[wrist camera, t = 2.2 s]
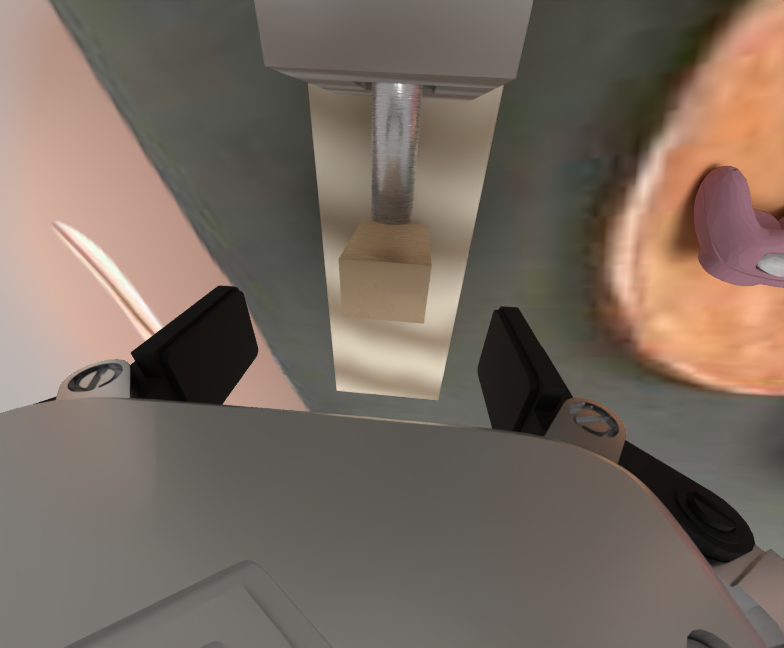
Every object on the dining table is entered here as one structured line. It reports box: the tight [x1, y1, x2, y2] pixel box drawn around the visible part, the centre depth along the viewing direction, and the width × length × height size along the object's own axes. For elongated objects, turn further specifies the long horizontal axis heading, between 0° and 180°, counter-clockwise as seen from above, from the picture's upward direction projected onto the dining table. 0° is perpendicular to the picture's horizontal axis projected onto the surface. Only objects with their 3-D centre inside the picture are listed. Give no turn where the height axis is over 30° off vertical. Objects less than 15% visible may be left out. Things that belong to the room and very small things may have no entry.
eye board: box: [254, 0, 533, 400], centre depth 16 cm, size 32×10×10 cm, turn 177°
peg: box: [338, 82, 432, 324], centre depth 12 cm, size 16×4×6 cm, turn 177°
